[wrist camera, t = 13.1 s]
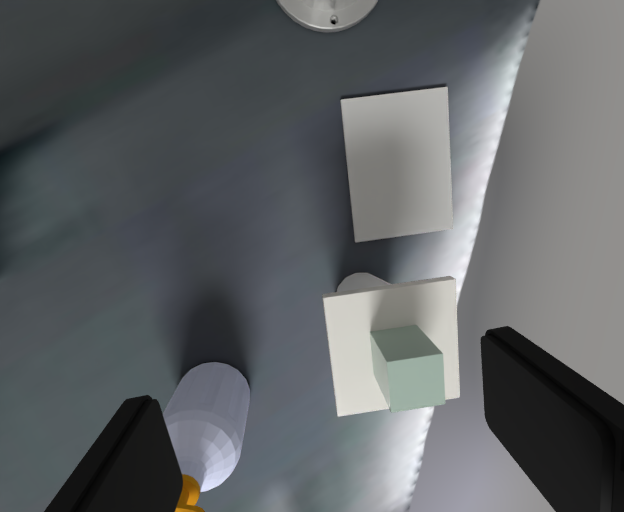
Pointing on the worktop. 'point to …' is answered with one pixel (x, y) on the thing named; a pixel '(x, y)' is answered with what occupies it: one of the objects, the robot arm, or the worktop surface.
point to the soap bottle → (207, 427)
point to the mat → (398, 163)
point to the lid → (393, 346)
